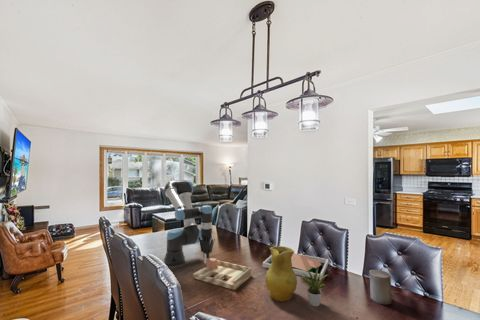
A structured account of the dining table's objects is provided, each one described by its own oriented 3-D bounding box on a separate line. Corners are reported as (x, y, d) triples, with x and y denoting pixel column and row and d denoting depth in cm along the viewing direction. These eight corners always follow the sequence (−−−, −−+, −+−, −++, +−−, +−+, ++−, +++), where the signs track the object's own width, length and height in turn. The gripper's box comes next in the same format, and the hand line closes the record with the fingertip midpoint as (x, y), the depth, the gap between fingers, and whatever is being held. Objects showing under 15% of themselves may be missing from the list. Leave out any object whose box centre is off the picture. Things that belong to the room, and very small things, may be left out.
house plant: (324, 295, 126) (324, 264, 127) (336, 310, 113) (335, 276, 113) (299, 295, 126) (298, 265, 127) (307, 311, 112) (306, 276, 113)
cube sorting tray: (193, 277, 147) (193, 269, 147) (212, 266, 165) (212, 259, 165) (235, 290, 132) (235, 281, 132) (251, 275, 150) (251, 267, 150)
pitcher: (258, 294, 127) (260, 247, 128) (278, 284, 140) (280, 242, 141) (284, 308, 114) (286, 257, 116) (303, 296, 127) (305, 250, 129)
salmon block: (206, 267, 156) (206, 260, 157) (211, 265, 161) (211, 257, 161) (212, 269, 154) (212, 261, 154) (217, 266, 158) (217, 259, 158)
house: (311, 277, 147) (310, 264, 147) (268, 263, 169) (268, 252, 169) (325, 267, 164) (325, 255, 164) (285, 255, 186) (285, 245, 186)
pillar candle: (393, 299, 123) (391, 270, 123) (389, 307, 115) (388, 276, 116) (372, 293, 129) (371, 265, 130) (368, 300, 122) (367, 271, 123)
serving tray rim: (262, 267, 163) (262, 262, 163) (277, 253, 190) (277, 250, 190) (321, 280, 144) (321, 275, 144) (328, 263, 170) (328, 259, 170)
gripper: (195, 228, 161) (195, 262, 159) (210, 230, 154) (210, 266, 153) (202, 226, 167) (202, 259, 166) (217, 228, 161) (217, 262, 160)
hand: (206, 262), depth 159 cm, fingers closed
